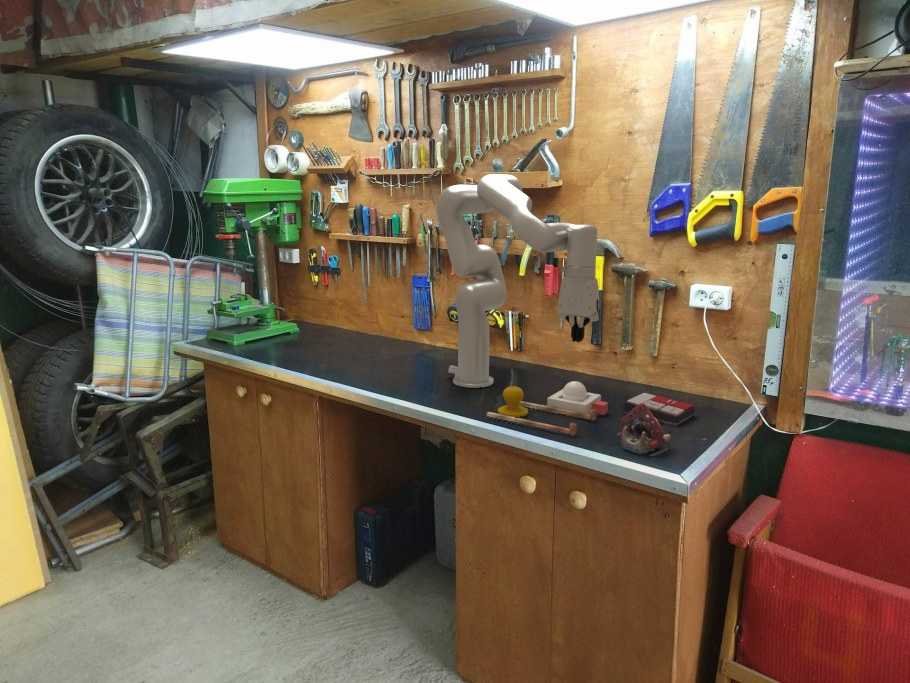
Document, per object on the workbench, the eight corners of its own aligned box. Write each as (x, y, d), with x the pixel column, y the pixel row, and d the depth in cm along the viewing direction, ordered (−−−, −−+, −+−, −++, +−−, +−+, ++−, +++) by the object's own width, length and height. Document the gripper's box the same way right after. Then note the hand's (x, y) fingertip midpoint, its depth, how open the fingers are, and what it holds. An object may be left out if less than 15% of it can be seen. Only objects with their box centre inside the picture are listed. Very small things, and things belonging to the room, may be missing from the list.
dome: (558, 405, 182) (559, 382, 181) (568, 399, 188) (569, 377, 186) (580, 409, 179) (581, 386, 178) (589, 403, 184) (590, 380, 183)
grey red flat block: (678, 414, 170) (624, 399, 179) (676, 430, 171) (622, 414, 180) (695, 404, 178) (643, 390, 187) (693, 419, 179) (641, 404, 188)
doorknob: (534, 415, 179) (511, 420, 174) (514, 407, 185) (491, 412, 180) (535, 388, 177) (511, 393, 172) (515, 381, 183) (492, 385, 179)
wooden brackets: (486, 418, 176) (486, 407, 175) (512, 403, 187) (512, 393, 187) (574, 437, 162) (575, 425, 162) (596, 420, 174) (597, 409, 174)
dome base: (547, 410, 182) (547, 398, 181) (563, 400, 191) (564, 388, 190) (597, 420, 174) (598, 407, 174) (612, 409, 183) (613, 397, 183)
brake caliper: (603, 438, 155) (623, 393, 158) (622, 456, 162) (641, 412, 165) (646, 453, 147) (667, 404, 150) (665, 470, 154) (684, 423, 157)
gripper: (548, 272, 176) (545, 340, 180) (602, 276, 168) (598, 347, 172) (560, 269, 182) (557, 335, 186) (613, 273, 174) (609, 342, 179)
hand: (577, 340), depth 179 cm, fingers closed
